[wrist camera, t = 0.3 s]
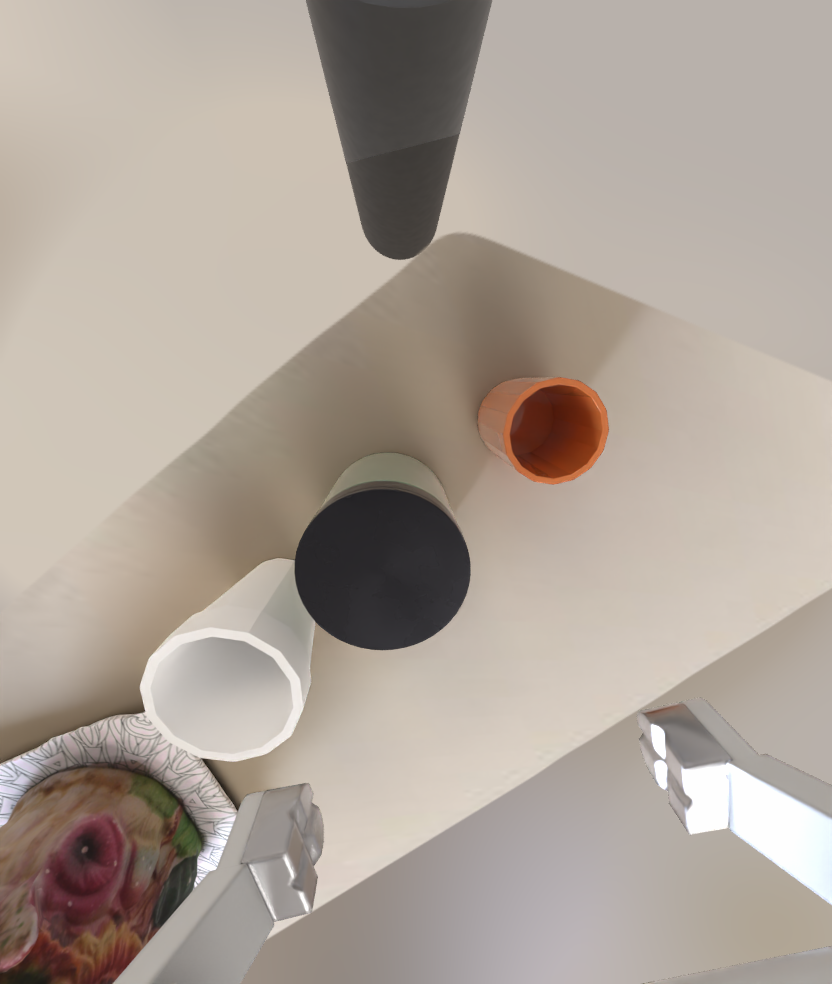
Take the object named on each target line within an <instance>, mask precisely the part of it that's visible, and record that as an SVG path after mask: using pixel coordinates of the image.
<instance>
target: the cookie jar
mask: <svg viewBox="0 0 832 984" xmlns="http://www.w3.org/2000/svg"><path fill="white" fill-rule="evenodd" d="M237 813H238V812H237V810H236V808H235V806H234V805H233V803H232V802H231V800H230V799H229V798H228V796H227V795H226V793H225V792H224V791H223V789H222V788H221V786H220V785H219V783H218V782H217V780H216V779H215V777H214V776H213V775H212V773H211V772H210V770H209V769H208V768H207V766H206V765H205V763H204V762H203V760H202V759H201V758H199V757H197V756H195V755H193V754H191V753H189V752H187V751H185V750H183V749H181V748H179V747H177V746H175V745H173V744H171V743H169V742H168V741H167V740H166V739H165V738H164V736H163V735H162V734H161V733H160V732H159V731H158V729H157V728H156V727H155V726H154V725H153V724H152V722H151V721H150V720H149V719H148V718H147V716H146V712H143V713H139V714H127V715H116V716H112V717H108V718H105V719H103V720H100V721H98V722H95V723H93V724H91V725H90V726H85V727H80V728H78V729H77V730H75V731H71V732H68V733H65V734H63V735H60V736H57V737H53V738H51V739H50V740H49V741H47V742H46V743H44V744H42V745H41V746H39V747H38V748H35V749H33V750H31V751H28V752H26V753H24V754H21V755H19V756H17V757H14V758H12V759H10V760H8V761H5V762H3V763H1V764H0V984H113V983H114V981H115V980H116V979H117V978H118V977H119V976H120V974H121V973H122V972H123V971H124V970H125V969H126V968H127V966H128V965H129V964H130V963H131V962H132V961H133V959H134V958H135V957H136V956H137V955H138V954H139V952H140V951H141V950H142V949H143V948H144V947H145V946H146V944H147V943H148V942H149V941H150V940H151V939H152V937H153V936H154V935H155V934H156V933H157V932H158V930H159V929H160V928H161V927H162V926H163V925H164V923H165V922H166V921H167V920H168V919H169V918H170V917H171V915H172V914H173V913H174V912H175V911H176V910H177V908H178V907H179V906H180V905H181V904H182V903H183V901H184V900H185V899H186V898H187V897H188V896H189V894H190V893H191V892H192V891H193V890H194V889H195V888H196V886H197V885H198V884H199V883H200V882H201V881H202V879H203V878H204V877H205V876H206V875H207V874H208V872H209V871H212V870H216V868H217V866H218V863H219V860H220V858H221V855H222V852H223V850H224V847H225V844H226V842H227V839H228V836H229V834H230V831H231V829H232V826H233V823H234V821H235V818H236V815H237Z"/></svg>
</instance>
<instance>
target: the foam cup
mask: <svg viewBox="0 0 832 984" xmlns="http://www.w3.org/2000/svg"><path fill="white" fill-rule="evenodd" d="M294 569H295V560H289V559H283V558H276V559H272V560H268V561H264V562H262V563H261V564H259V565H258V566H257V567H256V568H255V569H253V570H252V571H251V572H250V573H248V574H247V575H246V576H245V577H244V578H242V579H241V580H240V581H239V582H237V583H236V584H235V585H234V586H233V587H231V588H230V589H229V590H228V591H226V592H225V593H224V594H223V595H221V596H220V597H219V598H218V599H217V600H215V601H214V602H213V603H212V604H210V605H209V606H208V607H207V608H206V609H204V610H203V611H202V612H199V613H195V614H193V615H192V616H191V617H190V618H189V619H187V620H186V621H185V622H184V623H183V624H182V625H180V626H179V627H178V628H177V629H176V630H175V631H173V632H172V633H171V634H170V635H169V636H168V637H167V639H166V640H165V641H164V642H163V643H162V644H161V645H160V646H159V647H158V648H157V650H156V651H155V652H154V653H153V654H152V655H151V656H150V657H149V660H148V663H147V666H146V669H145V672H144V675H143V678H142V681H141V684H140V691H141V695H142V699H143V704H144V708H145V712H146V716H147V718H148V719H149V720H150V721H151V722H152V724H153V725H154V726H155V727H156V728H157V729H158V731H159V732H160V733H161V734H162V735H163V736H164V738H165V739H166V740H167V741H168V742H169V743H171V744H173V745H175V746H177V747H179V748H181V749H183V750H185V751H187V752H189V753H191V754H193V755H195V756H197V757H199V758H206V759H214V760H222V761H230V762H236V761H240V760H245V759H249V758H253V757H257V756H261V755H265V754H268V753H269V752H270V751H272V750H273V749H274V748H276V747H277V746H278V745H279V744H281V743H282V742H283V741H285V740H286V739H287V738H289V737H290V736H291V735H292V733H293V731H294V729H295V726H296V724H297V722H298V720H299V718H300V715H301V713H302V711H303V709H304V705H305V702H306V698H307V695H308V692H309V688H310V685H311V673H310V664H311V655H312V647H313V638H314V630H315V621H314V619H313V618H312V617H311V616H310V614H309V613H308V612H307V610H306V608H305V607H304V605H303V603H302V601H301V598H300V596H299V594H298V590H297V586H296V582H295V574H294Z"/></svg>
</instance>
